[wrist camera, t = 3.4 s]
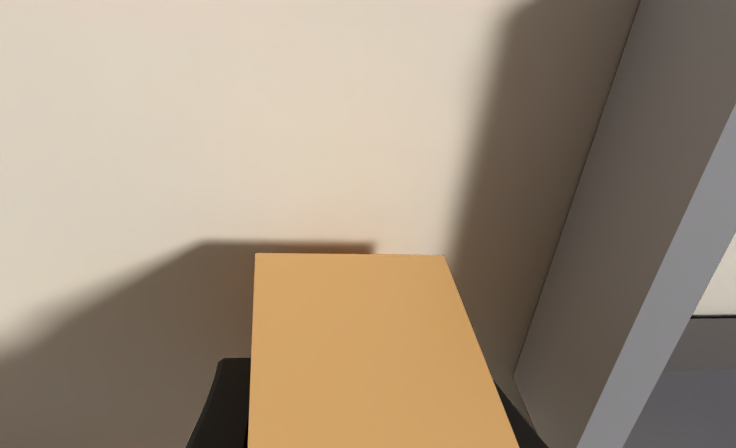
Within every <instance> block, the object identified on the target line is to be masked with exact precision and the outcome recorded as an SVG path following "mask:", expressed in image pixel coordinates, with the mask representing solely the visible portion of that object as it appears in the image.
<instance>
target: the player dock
mask: <svg viewBox="0 0 736 448" xmlns="http://www.w3.org/2000/svg"><path fill="white" fill-rule="evenodd" d="M735 232H736V0H641V1H640V4H639V7H638V9H637V12H636V15H635V18H634V21H633V24H632V27H631V30H630V33H629V36H628V39H627V42H626V45H625V48H624V51H623V54H622V57H621V60H620V62H619V65H618V68H617V71H616V74H615V77H614V80H613V83H612V86H611V89H610V92H609V95H608V98H607V101H606V104H605V107H604V110H603V113H602V115H601V118H600V121H599V124H598V127H597V130H596V133H595V136H594V139H593V142H592V145H591V148H590V151H589V154H588V157H587V160H586V163H585V166H584V168H583V171H582V174H581V177H580V180H579V183H578V186H577V189H576V192H575V195H574V198H573V201H572V204H571V207H570V210H569V213H568V216H567V219H566V222H565V224H564V227H563V230H562V233H561V236H560V239H559V242H558V245H557V248H556V251H555V254H554V257H553V260H552V263H551V266H550V269H549V272H548V275H547V277H546V280H545V283H544V286H543V289H542V292H541V295H540V298H539V301H538V304H537V307H536V310H535V313H534V316H533V319H532V322H531V325H530V328H529V330H528V333H527V336H526V339H525V342H524V345H523V348H522V351H521V354H520V357H519V360H518V363H517V366H516V369H515V372H514V375H513V379H514V381H515V384H516V386H517V388H518V391H519V393H520V395H521V397H522V400H523V402H524V404H525V407H526V409H527V411H528V414H529V416H530V418H531V421H532V423H533V425H534V428H535V430H536V432H537V434H538V436H539V437H540V438H541V439H542V440H543V441H544V443H545V444H546V445H547V446H548V447H549V448H622V447H623V445H624V443H625V442H626V440H627V438H628V436H629V434H630V432H631V430H632V428H633V426H634V424H635V423H636V421H637V419H638V417H639V415H640V413H641V411H642V409H643V407H644V405H645V404H646V402H647V400H648V398H649V396H650V394H651V392H652V390H653V388H654V386H655V385H656V383H657V381H658V379H659V377H660V375H661V373H662V371H663V369H664V367H665V366H666V364H667V362H668V360H669V358H670V356H671V354H672V352H673V350H674V348H675V347H676V345H677V343H678V341H679V339H680V337H681V335H682V333H683V331H684V329H685V328H686V326H687V324H688V322H689V320H690V318H691V316H692V314H693V312H694V310H695V309H696V307H697V305H698V303H699V301H700V299H701V297H702V295H703V293H704V291H705V289H706V288H707V286H708V284H709V282H710V280H711V278H712V276H713V274H714V272H715V270H716V269H717V267H718V265H719V263H720V261H721V259H722V257H723V255H724V253H725V251H726V250H727V248H728V246H729V244H730V242H731V240H732V238H733V236H734V234H735Z"/></svg>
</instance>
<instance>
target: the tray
mask: <svg viewBox="0 0 736 448" xmlns="http://www.w3.org/2000/svg"><path fill="white" fill-rule="evenodd" d="M622 448H736V318H720V319H690V320H689V322H688V324H687V326H686V328H685V329H684V331H683V333H682V335H681V337H680V339H679V341H678V343H677V345H676V347H675V348H674V350H673V352H672V354H671V356H670V358H669V360H668V362H667V364H666V366H665V367H664V369H663V371H662V373H661V375H660V377H659V379H658V381H657V383H656V385H655V386H654V388H653V390H652V392H651V394H650V396H649V398H648V400H647V402H646V404H645V405H644V407H643V409H642V411H641V413H640V415H639V417H638V419H637V421H636V423H635V424H634V426H633V428H632V430H631V432H630V434H629V436H628V438H627V440H626V442H625V443H624V445H623V447H622Z"/></svg>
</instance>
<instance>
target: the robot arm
mask: <svg viewBox="0 0 736 448" xmlns="http://www.w3.org/2000/svg"><path fill="white" fill-rule="evenodd" d="M250 375H251V358H224V359H222V360H221V361H220V362H218V366H217V370H216V374H215V378H214V381H213V384H212V387H211V390H210V393H209V395H208V398H207V401H206V403H205V406H204V408H203V411H202V413H201V416H200V418H199V420H198V422H197V424H196V427H195V429H194V431H193V433H192V435H191V437H190V440H189V442H188V444H187V446H186V448H248V427H249V401H250ZM493 382H494V384H495V387H496V389H497V392H498V394H499V397H500V399H501V402H502V405H503V407H504V410H505V412H506V415H507V417H508V420H509V422H510V425H511V427H512V430H513V433H514V435H515V438H516V440H517V443H518V445H519V448H549V447H548V446H547V445H546V444H545V443H544V441H543V440H542V439H541V438H540V437H539V436H538V434H537V433H536V432H535V431H534V430H533V429H532V427H531V426H530V425H529V424H528V423H527V421H526V420H525V419H524V418H523V417H522V415H521V414H520V413H519V412H518V410H517V409H516V408H515V407H514V406H513V404H512V403H511V402H510V400H509V399H508V398H507V397H506V395H505V394H504V393H503V392H502V390H501V389H500V388H499V386H498V385H497V384H496V383H495V381H494V380H493Z"/></svg>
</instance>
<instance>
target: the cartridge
mask: <svg viewBox="0 0 736 448" xmlns="http://www.w3.org/2000/svg"><path fill="white" fill-rule="evenodd" d="M248 448H519V445H518V443H517V440H516V438H515V435H514V433H513V430H512V427H511V425H510V422H509V420H508V417H507V415H506V412H505V410H504V407H503V405H502V402H501V399H500V397H499V394H498V392H497V389H496V387H495V384H494V382H493V379H492V377H491V374H490V371H489V369H488V366H487V364H486V361H485V359H484V356H483V354H482V351H481V349H480V346H479V343H478V341H477V338H476V336H475V333H474V331H473V328H472V326H471V323H470V321H469V318H468V315H467V313H466V310H465V308H464V305H463V303H462V300H461V298H460V295H459V293H458V290H457V287H456V285H455V282H454V280H453V277H452V275H451V272H450V270H449V267H448V265H447V262H446V259H445V257H444V255H394V254H307V253H255V272H254V297H253V323H252V349H251V375H250V401H249V427H248Z"/></svg>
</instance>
